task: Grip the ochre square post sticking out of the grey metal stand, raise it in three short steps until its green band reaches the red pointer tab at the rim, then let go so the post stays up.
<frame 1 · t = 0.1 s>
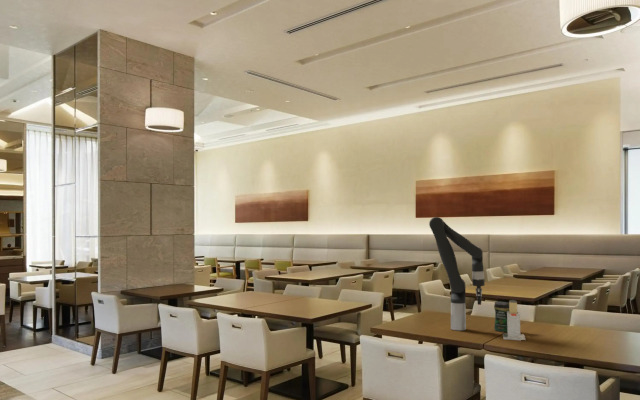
hand: (479, 303, 308), 17 cm above the table, tool pointing down, fingers open, 8 cm apart
coffee jar: (502, 331, 307), on the table
post: (513, 318, 288), point 12 cm above the table, slide at 0.0 cm, touching stand
stand: (513, 337, 287), on the table
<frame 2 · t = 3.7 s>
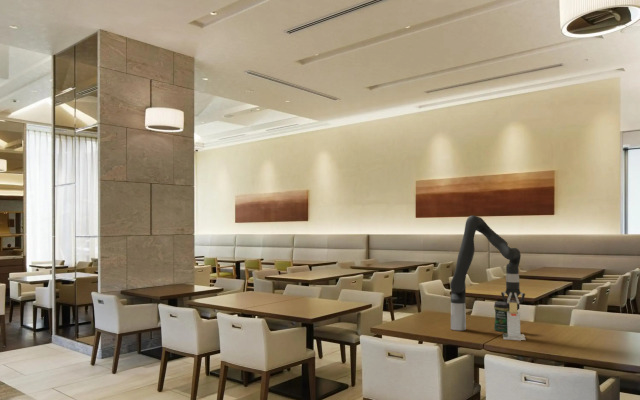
hand: (513, 309, 288), 17 cm above the table, tool pointing down, fingers closed on post, 4 cm apart
post: (513, 318, 288), point 12 cm above the table, slide at 0.0 cm, touching gripper, stand
everything else where it was.
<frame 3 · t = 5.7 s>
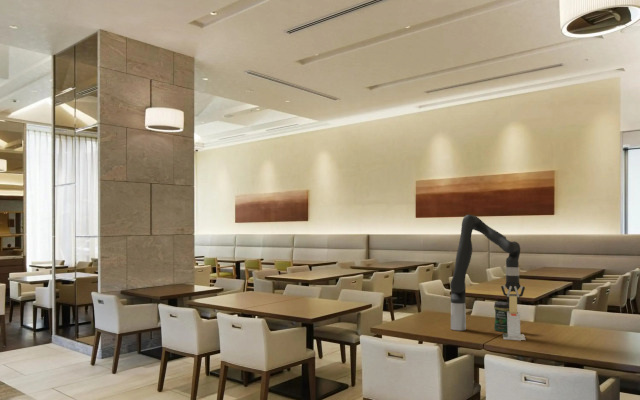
hand: (513, 303, 288), 21 cm above the table, tool pointing down, fingers closed on post, 4 cm apart
post: (513, 311, 288), point 16 cm above the table, slide at 3.9 cm, touching gripper
everything else where it was.
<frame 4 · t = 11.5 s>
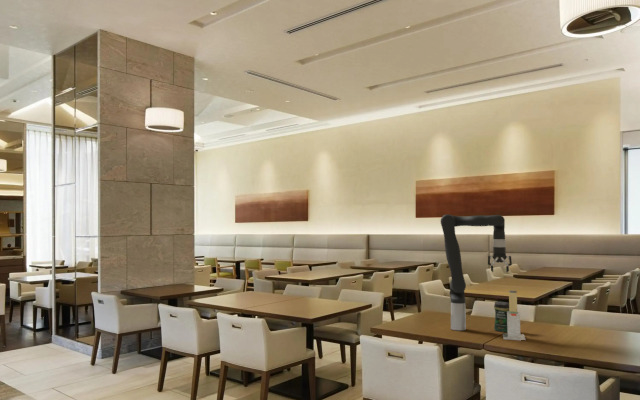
hand: (499, 272, 303), 38 cm above the table, tool pointing down, fingers open, 8 cm apart
post: (513, 308, 288), point 18 cm above the table, slide at 5.9 cm
everything else where it was.
at the end: post slide at 5.9 cm; the gripper is holding nothing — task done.
